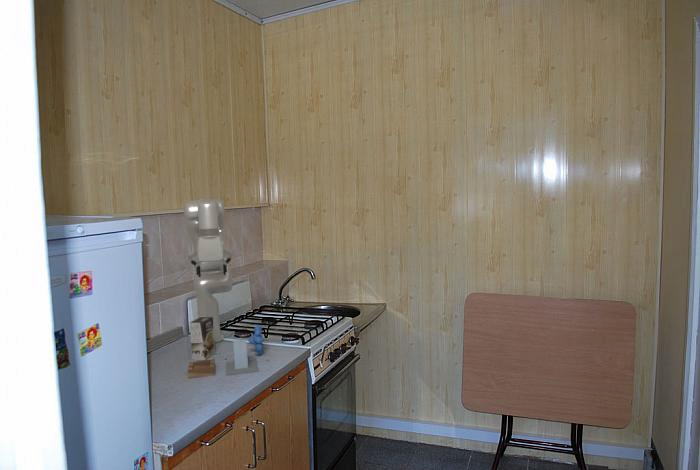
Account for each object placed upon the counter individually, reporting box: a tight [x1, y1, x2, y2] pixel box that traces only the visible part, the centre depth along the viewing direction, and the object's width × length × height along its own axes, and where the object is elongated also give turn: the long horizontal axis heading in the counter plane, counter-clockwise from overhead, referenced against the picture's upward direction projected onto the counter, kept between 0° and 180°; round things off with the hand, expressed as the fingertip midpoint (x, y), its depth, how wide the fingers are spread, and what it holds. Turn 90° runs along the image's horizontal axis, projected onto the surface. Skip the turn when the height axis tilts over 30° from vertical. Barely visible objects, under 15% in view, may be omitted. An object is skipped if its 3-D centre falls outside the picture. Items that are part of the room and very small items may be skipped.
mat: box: [225, 357, 259, 377], centre depth 189 cm, size 14×12×1 cm
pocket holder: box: [187, 358, 216, 380], centre depth 185 cm, size 10×10×3 cm
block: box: [232, 338, 248, 369], centre depth 188 cm, size 5×5×10 cm
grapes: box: [248, 324, 265, 356], centre depth 204 cm, size 12×7×12 cm, turn 12°
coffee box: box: [189, 317, 216, 361], centre depth 203 cm, size 9×6×16 cm
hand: (212, 275), depth 191 cm, fingers open, 9 cm apart
